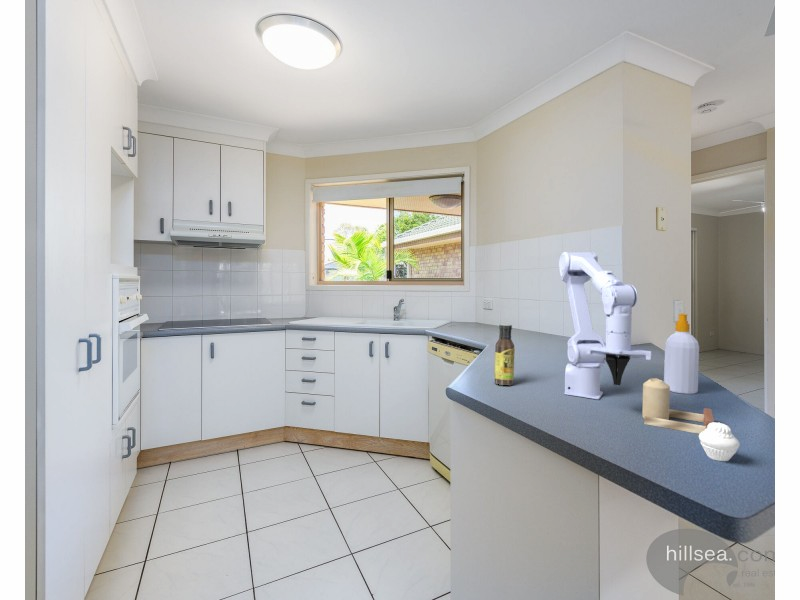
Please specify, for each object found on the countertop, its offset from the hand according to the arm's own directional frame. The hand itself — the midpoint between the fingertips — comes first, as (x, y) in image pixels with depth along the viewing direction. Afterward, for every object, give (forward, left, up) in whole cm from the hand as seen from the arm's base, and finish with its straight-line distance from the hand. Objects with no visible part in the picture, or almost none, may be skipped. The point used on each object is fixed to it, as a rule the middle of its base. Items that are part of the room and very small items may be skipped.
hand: (617, 384), depth 102 cm
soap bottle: (+13, +35, -8) cm, 38 cm away
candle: (+8, 0, -8) cm, 11 cm away
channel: (+13, 0, -8) cm, 15 cm away
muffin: (+19, -18, -8) cm, 28 cm away
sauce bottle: (-34, +11, -8) cm, 37 cm away
